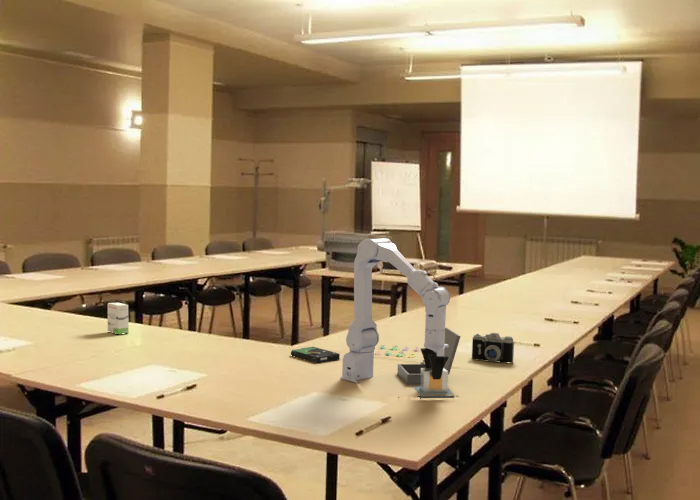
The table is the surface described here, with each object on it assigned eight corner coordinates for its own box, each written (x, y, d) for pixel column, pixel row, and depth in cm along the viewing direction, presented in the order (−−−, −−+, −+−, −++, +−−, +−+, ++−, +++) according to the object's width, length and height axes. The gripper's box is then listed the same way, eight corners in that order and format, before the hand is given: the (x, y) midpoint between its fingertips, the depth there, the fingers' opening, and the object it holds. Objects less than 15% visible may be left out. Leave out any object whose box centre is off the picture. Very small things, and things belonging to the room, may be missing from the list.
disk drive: (340, 361, 263) (312, 353, 274) (340, 353, 263) (312, 345, 274) (317, 365, 256) (289, 357, 267) (317, 357, 256) (290, 349, 267)
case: (407, 387, 227) (408, 335, 226) (396, 375, 241) (398, 326, 240) (458, 387, 229) (460, 335, 228) (445, 375, 244) (447, 326, 243)
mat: (420, 398, 215) (420, 394, 215) (412, 389, 225) (412, 386, 225) (454, 398, 216) (454, 394, 216) (444, 389, 226) (445, 385, 226)
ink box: (128, 334, 299) (129, 304, 298) (117, 335, 295) (117, 305, 295) (118, 331, 305) (118, 301, 304) (106, 332, 302) (106, 302, 301)
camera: (468, 360, 268) (469, 332, 267) (473, 357, 274) (474, 329, 273) (509, 365, 262) (511, 336, 261) (514, 361, 268) (515, 333, 267)
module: (423, 392, 218) (424, 371, 217) (420, 388, 222) (420, 367, 222) (447, 392, 219) (448, 371, 218) (443, 388, 223) (444, 367, 223)
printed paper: (432, 364, 262) (433, 359, 261) (347, 359, 267) (347, 355, 267) (440, 347, 291) (440, 343, 291) (362, 344, 297) (362, 340, 297)
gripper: (455, 334, 213) (453, 382, 214) (441, 325, 227) (440, 370, 228) (431, 334, 212) (429, 382, 213) (418, 324, 226) (417, 370, 227)
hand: (433, 375), depth 220 cm, fingers open, 7 cm apart
